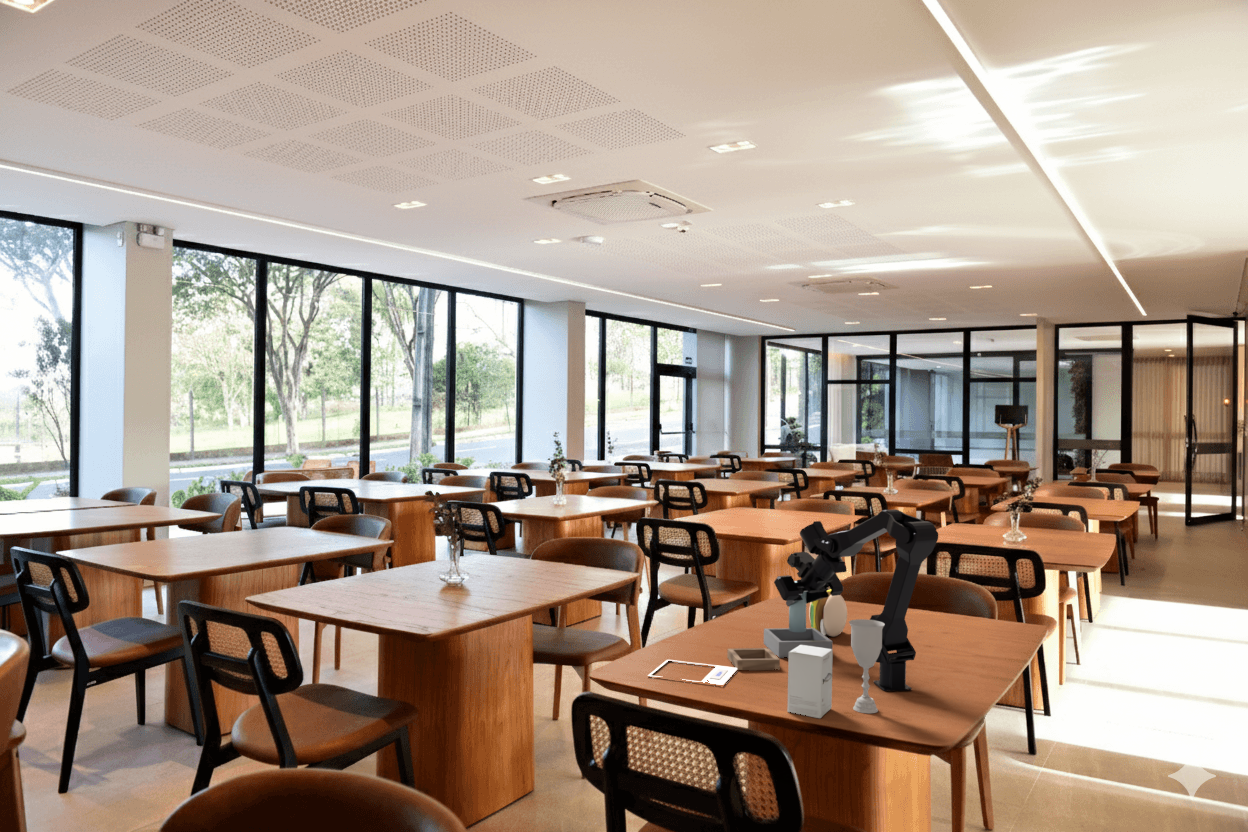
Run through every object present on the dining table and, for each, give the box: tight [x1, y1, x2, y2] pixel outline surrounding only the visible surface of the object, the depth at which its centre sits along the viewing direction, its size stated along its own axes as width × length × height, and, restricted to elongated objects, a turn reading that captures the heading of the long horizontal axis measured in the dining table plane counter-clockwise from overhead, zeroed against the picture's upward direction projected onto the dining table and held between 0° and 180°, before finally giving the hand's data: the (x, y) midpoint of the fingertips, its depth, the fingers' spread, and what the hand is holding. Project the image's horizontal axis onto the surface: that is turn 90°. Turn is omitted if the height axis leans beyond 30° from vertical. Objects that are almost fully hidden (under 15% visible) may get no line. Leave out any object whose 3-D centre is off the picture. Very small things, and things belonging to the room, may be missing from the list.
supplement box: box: [786, 645, 834, 719], centre depth 179 cm, size 7×7×13 cm
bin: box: [763, 627, 833, 659], centre depth 226 cm, size 14×14×4 cm
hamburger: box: [808, 588, 848, 638], centre depth 243 cm, size 12×8×12 cm
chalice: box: [848, 618, 885, 714], centre depth 181 cm, size 7×7×18 cm
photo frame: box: [647, 659, 738, 685], centre depth 204 cm, size 15×1×18 cm
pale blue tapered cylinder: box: [788, 580, 807, 632], centre depth 226 cm, size 4×4×12 cm
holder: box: [726, 647, 781, 671], centre depth 213 cm, size 10×10×2 cm
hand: (794, 604), depth 228 cm, fingers closed on pale blue tapered cylinder, 4 cm apart
